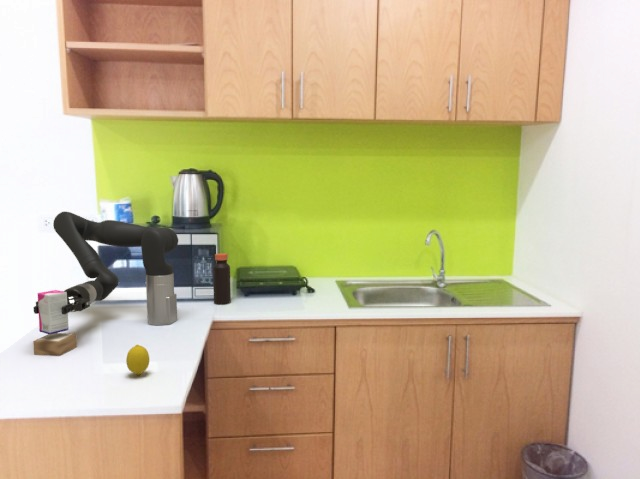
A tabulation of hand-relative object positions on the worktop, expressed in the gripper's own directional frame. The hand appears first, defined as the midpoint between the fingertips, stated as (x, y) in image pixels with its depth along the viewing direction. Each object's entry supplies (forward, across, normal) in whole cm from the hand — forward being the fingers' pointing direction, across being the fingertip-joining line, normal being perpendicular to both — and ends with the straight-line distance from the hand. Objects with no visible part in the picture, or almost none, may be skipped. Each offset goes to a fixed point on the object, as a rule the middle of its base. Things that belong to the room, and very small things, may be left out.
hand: (49, 310), depth 145 cm
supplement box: (-2, 0, +7) cm, 7 cm away
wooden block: (-2, 0, +12) cm, 13 cm away
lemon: (+15, +32, +12) cm, 37 cm away
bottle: (-62, +35, +13) cm, 72 cm away
